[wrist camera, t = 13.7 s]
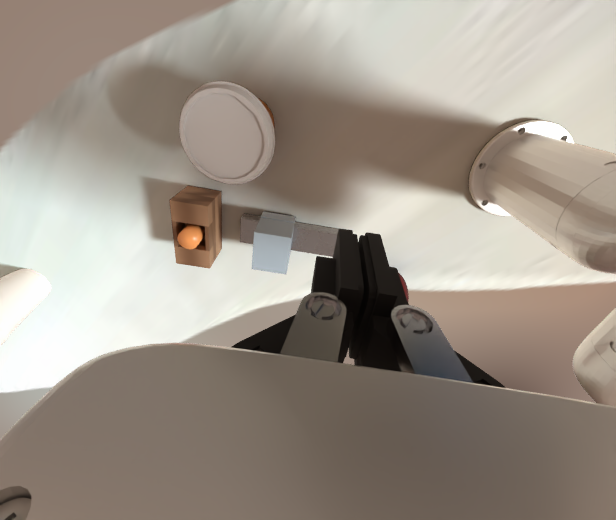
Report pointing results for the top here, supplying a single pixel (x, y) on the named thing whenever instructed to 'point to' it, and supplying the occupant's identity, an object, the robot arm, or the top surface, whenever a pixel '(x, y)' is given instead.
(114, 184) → the top surface
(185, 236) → the peg
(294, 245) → the rail
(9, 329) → the foam cup
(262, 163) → the disposable coffee cup
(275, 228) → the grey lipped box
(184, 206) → the tan slotted block
